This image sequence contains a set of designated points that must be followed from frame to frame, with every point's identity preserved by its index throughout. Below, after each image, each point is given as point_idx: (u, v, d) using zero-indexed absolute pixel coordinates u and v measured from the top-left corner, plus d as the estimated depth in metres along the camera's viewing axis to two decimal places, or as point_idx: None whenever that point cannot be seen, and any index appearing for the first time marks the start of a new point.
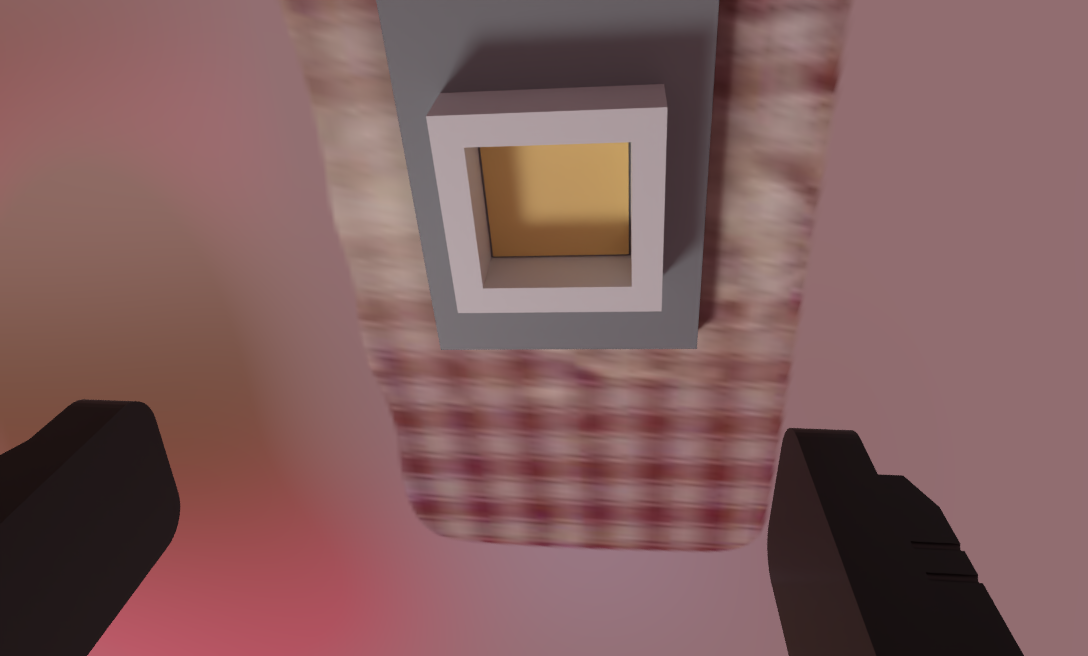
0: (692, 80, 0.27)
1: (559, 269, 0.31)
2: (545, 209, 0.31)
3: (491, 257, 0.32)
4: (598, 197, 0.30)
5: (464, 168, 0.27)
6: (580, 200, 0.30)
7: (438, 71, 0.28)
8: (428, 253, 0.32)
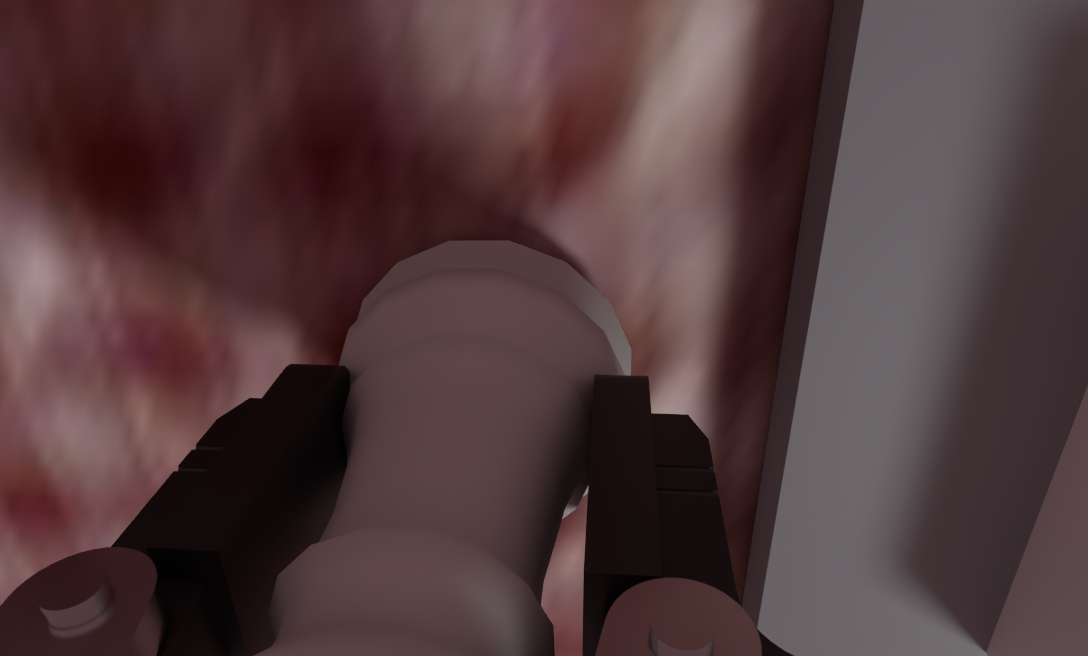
0: None
1: None
2: None
3: None
4: None
5: None
6: None
7: (937, 647, 0.13)
8: None
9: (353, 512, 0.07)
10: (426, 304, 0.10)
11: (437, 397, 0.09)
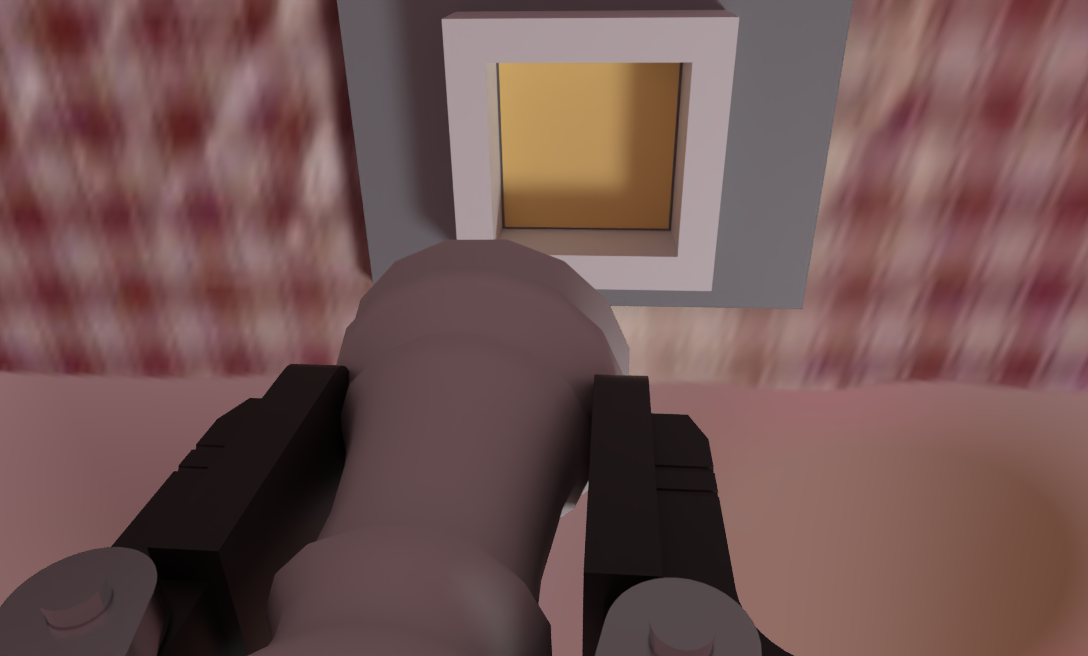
0: None
1: (680, 153, 0.24)
2: (608, 160, 0.25)
3: (669, 230, 0.26)
4: (597, 94, 0.24)
5: None
6: (599, 116, 0.25)
7: None
8: (659, 300, 0.28)
9: (350, 512, 0.07)
10: (423, 303, 0.10)
11: (434, 396, 0.09)
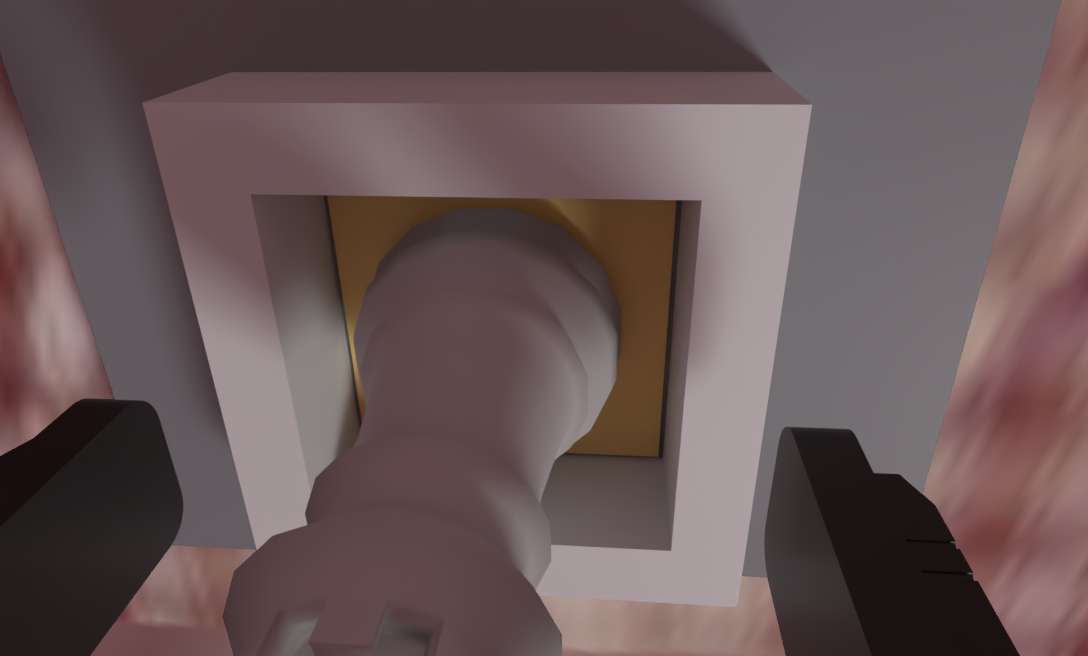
0: (211, 0, 0.11)
1: (677, 349, 0.12)
2: None
3: (660, 460, 0.14)
4: None
5: None
6: None
7: None
8: None
9: (379, 428, 0.09)
10: (439, 261, 0.11)
11: (450, 338, 0.10)
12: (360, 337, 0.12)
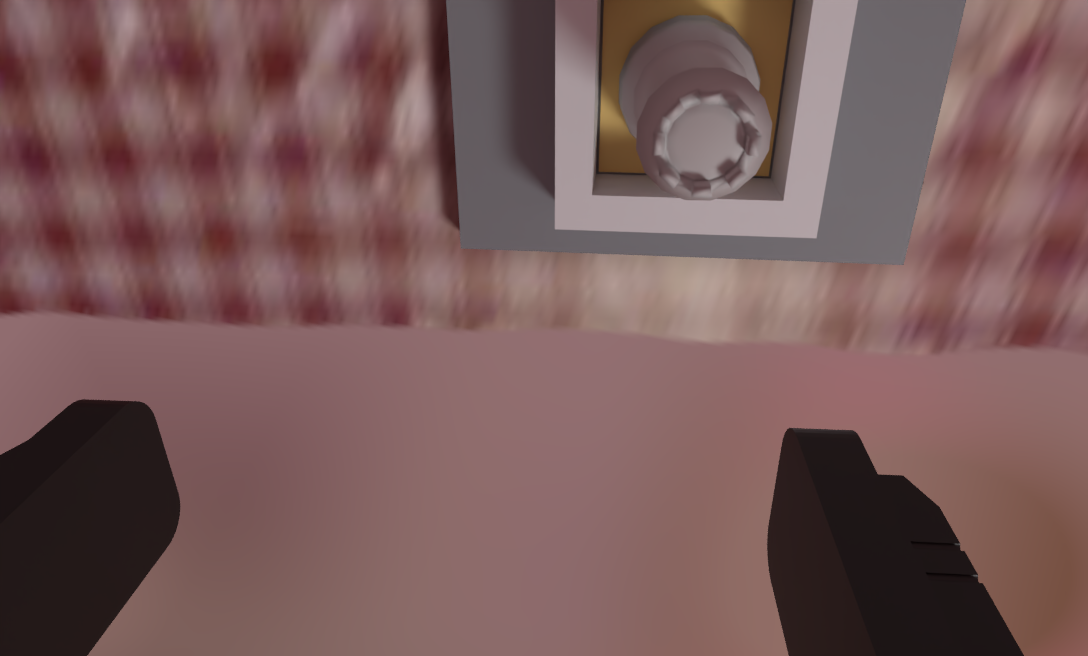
0: None
1: (789, 93, 0.23)
2: None
3: (769, 178, 0.25)
4: None
5: (617, 198, 0.24)
6: None
7: (539, 203, 0.27)
8: (753, 253, 0.27)
9: None
10: (678, 32, 0.22)
11: (693, 57, 0.21)
12: (630, 78, 0.23)
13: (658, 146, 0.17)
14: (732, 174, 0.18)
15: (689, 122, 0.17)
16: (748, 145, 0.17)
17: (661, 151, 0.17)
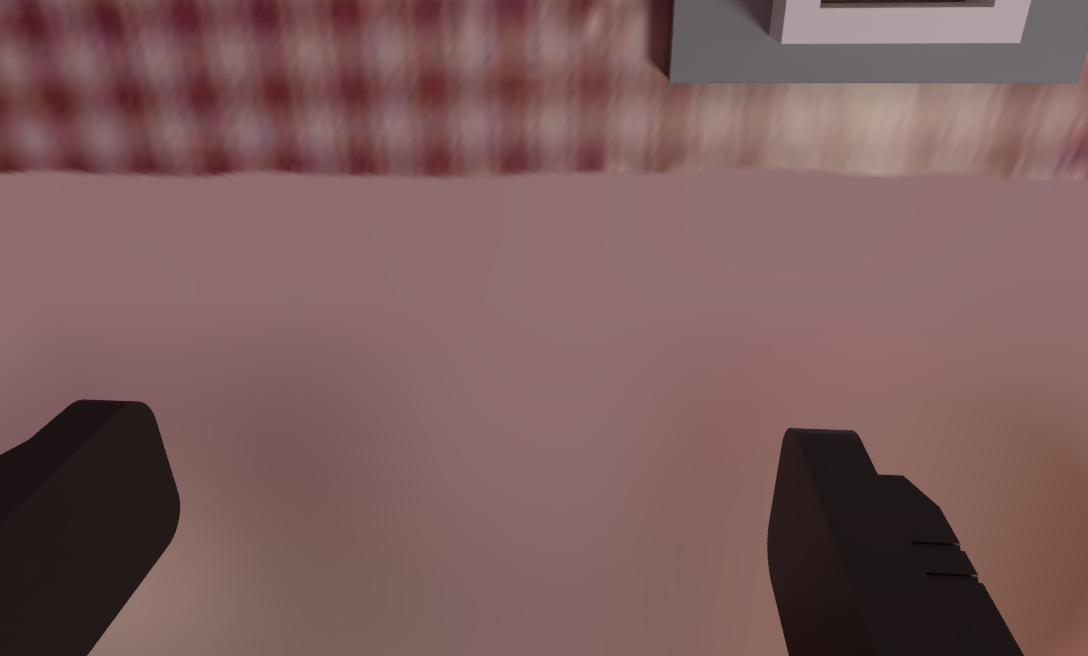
0: None
1: None
2: None
3: (964, 1, 0.28)
4: None
5: (842, 10, 0.27)
6: None
7: (748, 34, 0.30)
8: (941, 76, 0.30)
9: None
10: None
11: None
12: None
13: None
14: None
15: None
16: None
17: None
